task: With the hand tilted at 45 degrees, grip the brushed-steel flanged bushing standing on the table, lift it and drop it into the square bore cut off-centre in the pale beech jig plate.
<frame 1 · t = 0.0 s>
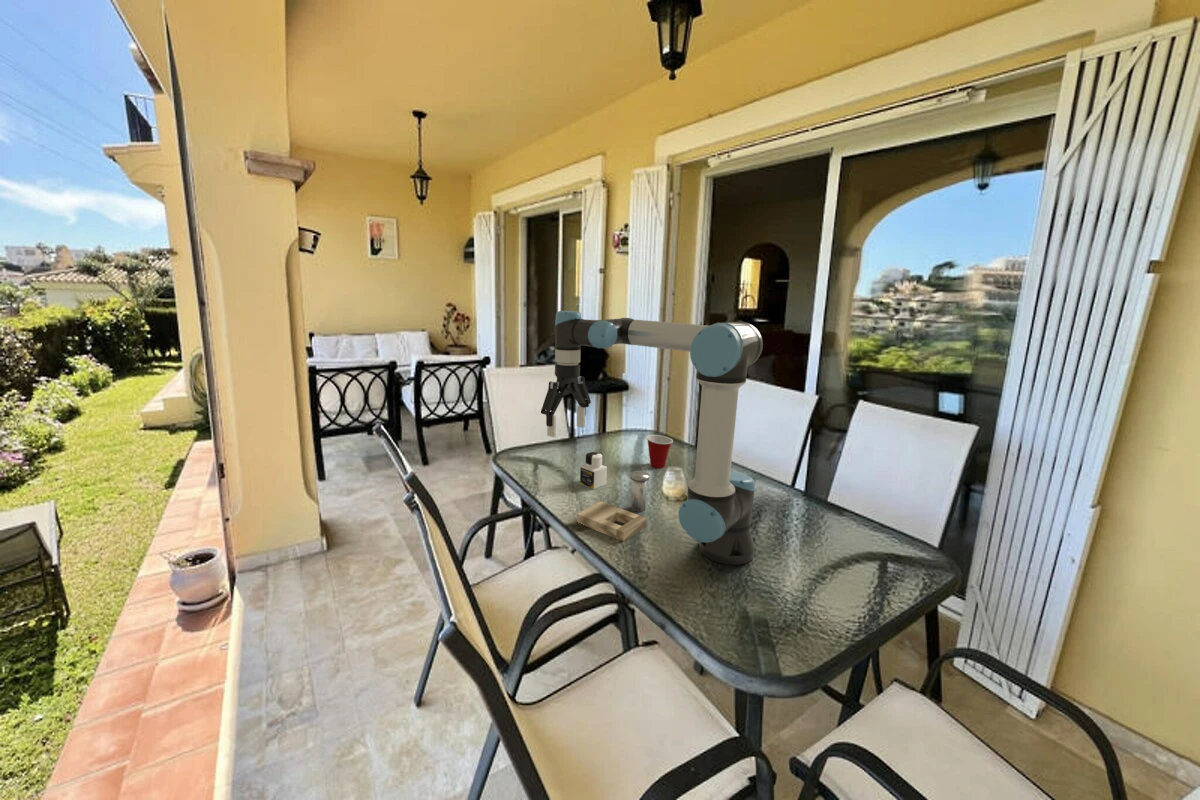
hand: (566, 431, 154), 28 cm above the table, tool pointing down, fingers open, 13 cm apart
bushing: (638, 508, 166), on the table
medicine bottle: (593, 484, 185), on the table
jig: (611, 524, 155), on the table
plastic cup: (658, 466, 206), on the table
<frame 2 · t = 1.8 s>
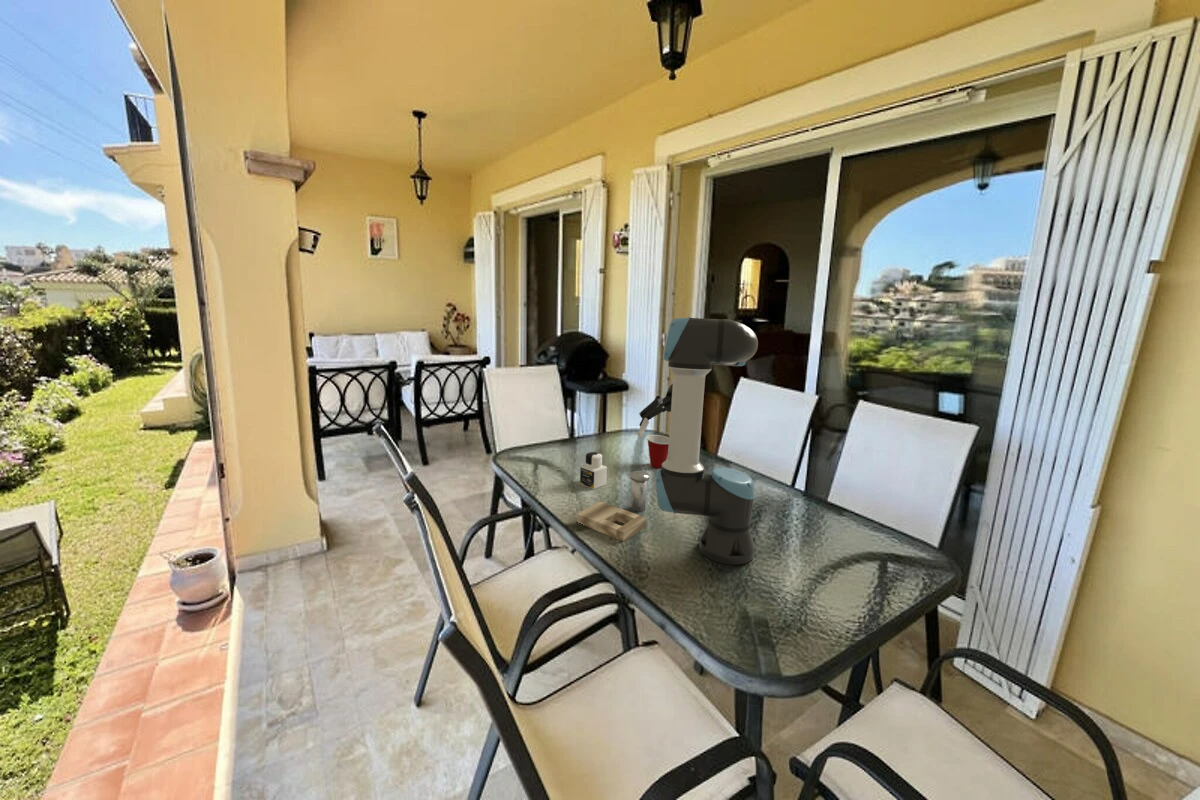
hand: (656, 439, 169), 22 cm above the table, tool tilted 45°, fingers open, 13 cm apart
nothing on the table moved.
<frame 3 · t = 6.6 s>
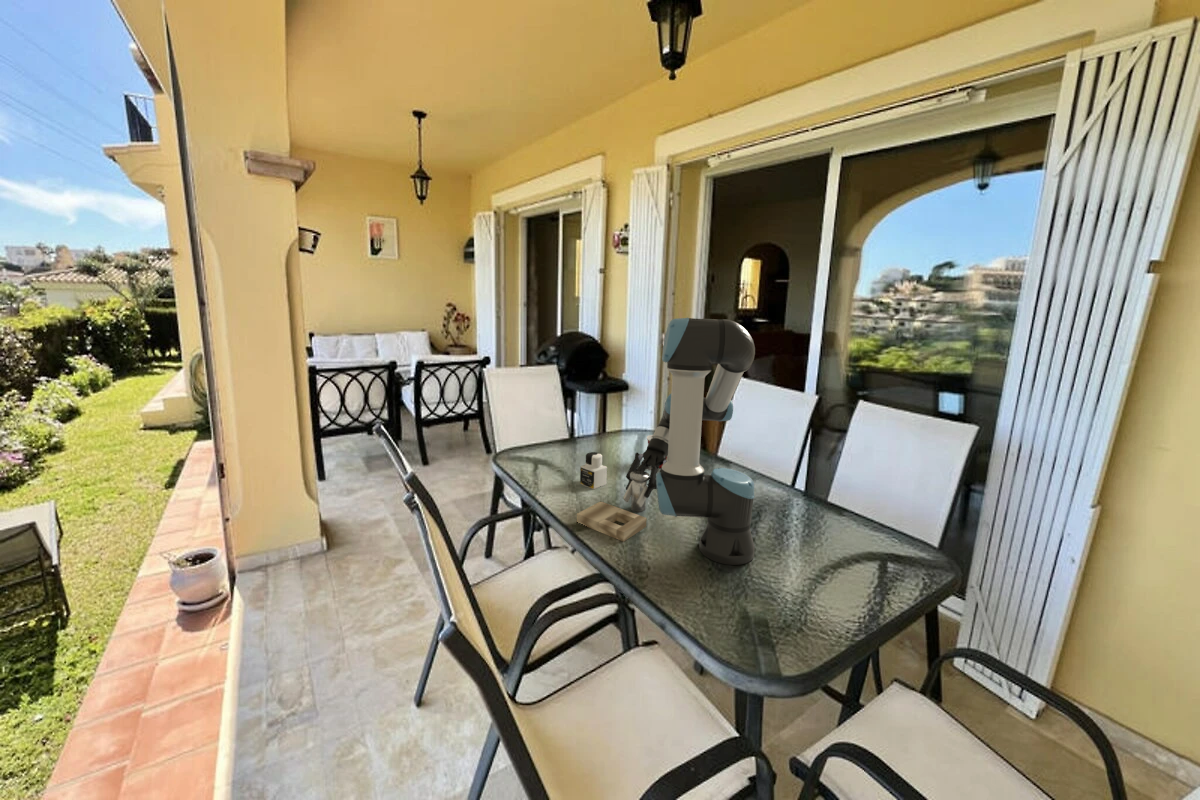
hand: (632, 502, 163), 3 cm above the table, tool tilted 45°, fingers closed on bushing, 5 cm apart
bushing: (638, 508, 166), on the table, touching gripper
everything else where it was.
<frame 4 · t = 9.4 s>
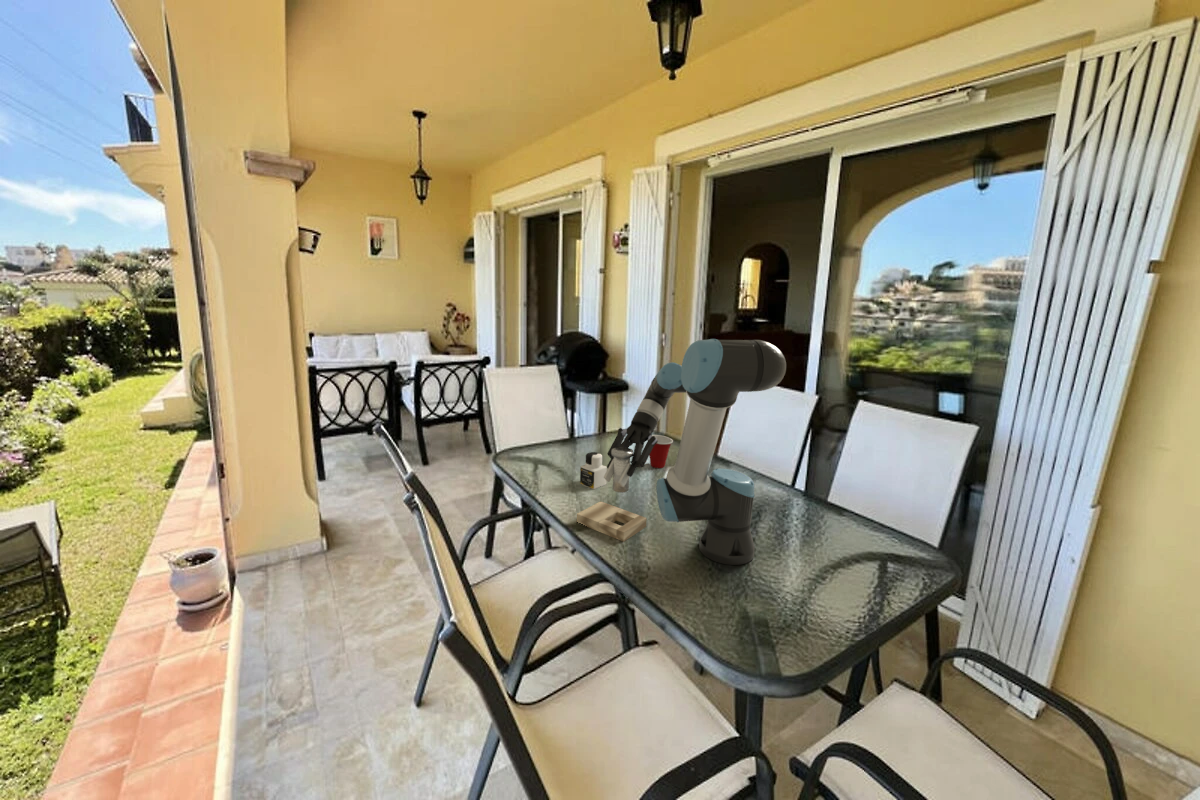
hand: (613, 482, 146), 16 cm above the table, tool tilted 45°, fingers closed on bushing, 5 cm apart
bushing: (620, 489, 150), point 13 cm above the table, touching gripper
everything else where it was.
when the fingers open (5 cm above the table, at t = 12.2 s): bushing drops 1 cm, resting in jig.
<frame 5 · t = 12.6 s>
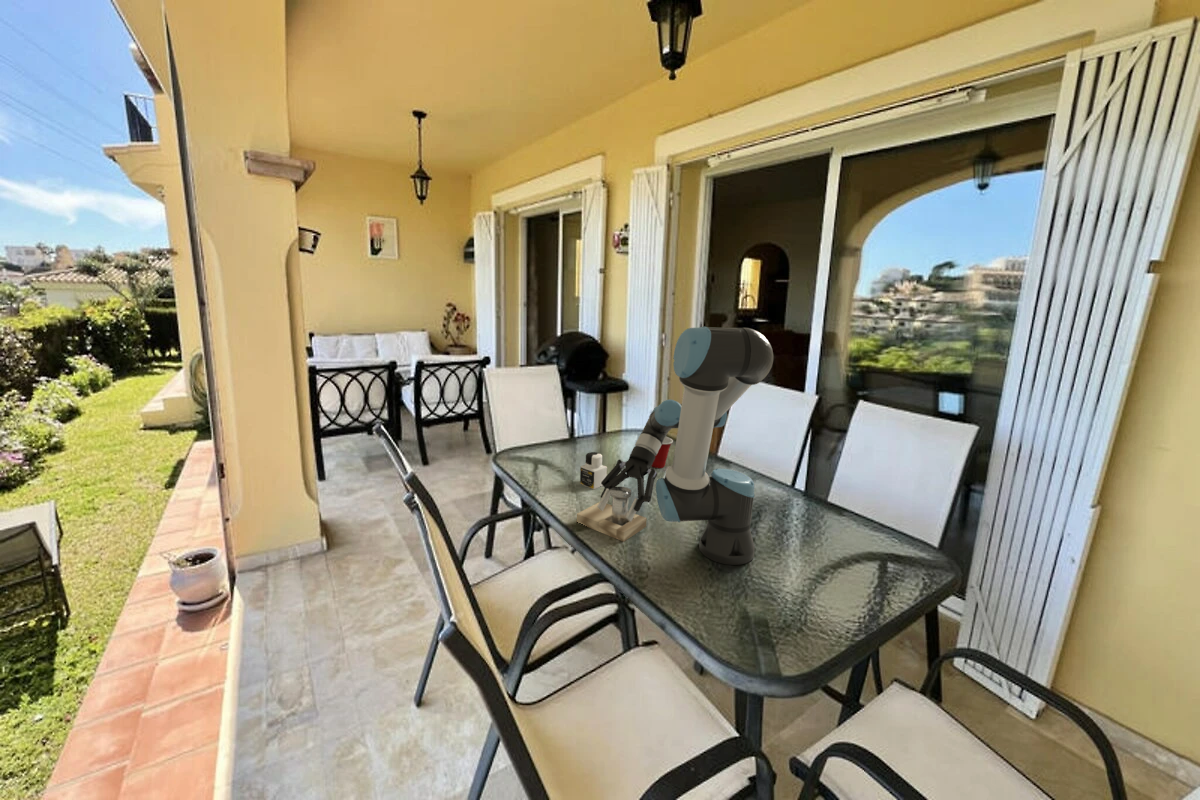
hand: (613, 514, 149), 6 cm above the table, tool tilted 45°, fingers open, 10 cm apart
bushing: (619, 527, 153), resting in jig
everything else where it was.
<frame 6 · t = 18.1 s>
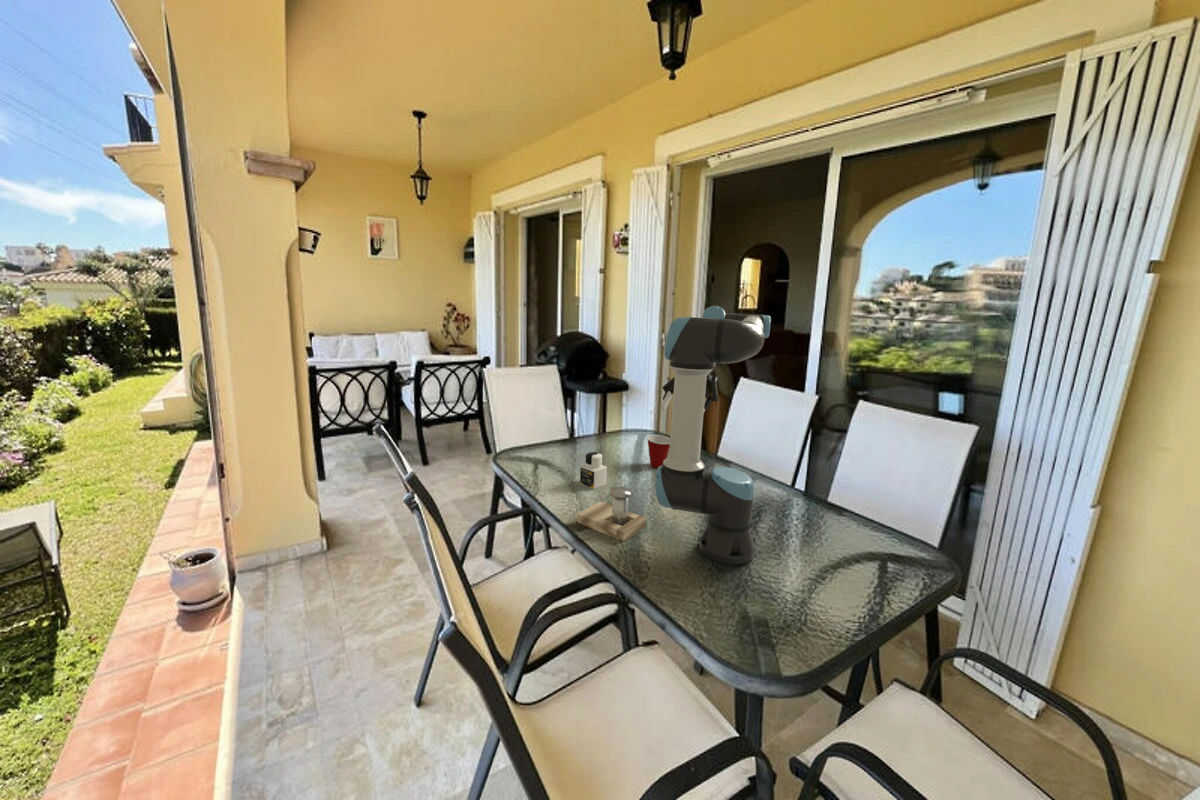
hand: (680, 412, 166), 32 cm above the table, tool tilted 45°, fingers open, 13 cm apart
nothing on the table moved.
at the end: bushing 0.0 cm from the target spot on the jig, point 0.0 cm above the jig's base; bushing tilted 0°; the gripper is holding nothing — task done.
